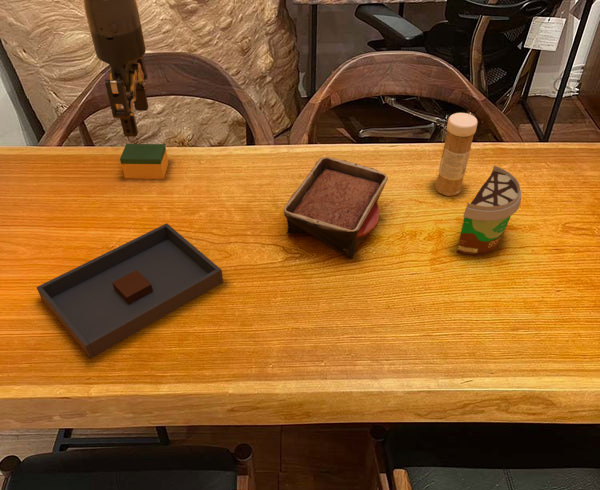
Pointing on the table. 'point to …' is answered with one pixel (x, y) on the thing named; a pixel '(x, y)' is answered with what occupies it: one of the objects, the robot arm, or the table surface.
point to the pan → (110, 305)
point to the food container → (489, 214)
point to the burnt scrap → (132, 287)
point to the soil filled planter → (337, 203)
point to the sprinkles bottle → (455, 153)
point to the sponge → (144, 161)
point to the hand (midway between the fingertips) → (137, 122)
